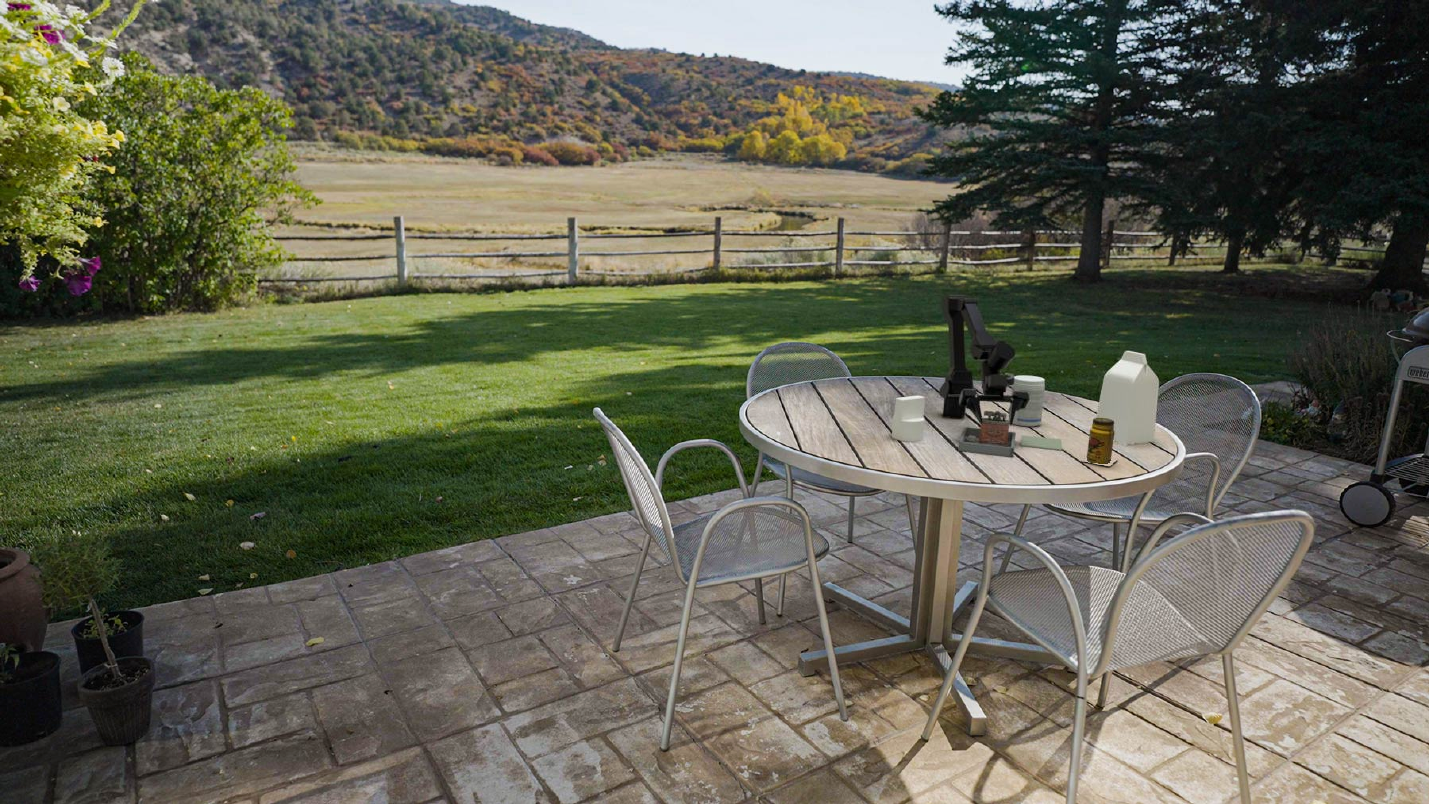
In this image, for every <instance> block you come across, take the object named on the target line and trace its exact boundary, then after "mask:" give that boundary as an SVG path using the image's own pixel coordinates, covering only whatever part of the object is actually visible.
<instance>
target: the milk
mask: <svg viewBox="0 0 1429 804" xmlns="http://www.w3.org/2000/svg"><path fill="white" fill-rule="evenodd" d="M1159 388H1160V380H1159V378H1158V376H1157V375H1156V373H1155V372H1154V371H1153V369H1152V368H1151V367H1150V366H1149V365H1148V361H1147V356H1146V353H1140V352H1135V351H1131V350H1125V351H1124V352H1123V354H1122V356H1121V358H1120V360H1118V362H1116V363H1115V364H1114V365H1113V366H1112V367H1111V368H1110V369H1108V370H1107V372H1106V373H1105V374H1104V377H1103V380H1102V385H1101V389H1100V390H1101V391H1100V395H1099V396H1100V397H1099V402H1098V406H1097V411H1096V417H1095V418H1107V419H1111V420H1113V421H1114V432H1115V433H1114V441H1116V442H1115V443H1117V442H1118V443H1117V444H1120V443H1123V444H1132V443H1139V444H1147V443H1154V442H1155V431H1156V423H1157V421H1156V420H1157V411H1158V410H1157V409H1158V408H1157V407H1158V398H1159ZM1114 441H1113V442H1114ZM1123 444H1122V445H1123ZM1132 445H1133V444H1132Z"/></svg>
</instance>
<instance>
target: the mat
mask: <svg viewBox="0 0 1429 804" xmlns="http://www.w3.org/2000/svg"><path fill="white" fill-rule="evenodd" d="M1062 445H1063V443H1062V439H1060V438H1059V439H1058V438H1053V437H1052V438H1051V437H1044V436H1043V437H1042V436H1034V435H1033V436H1032V435H1023V434H1022V435H1021V440H1020V446H1021V447H1025V448H1035V449H1044V450H1050V451H1051V450H1052V451H1059V452H1060V451H1062V450H1063V446H1062Z"/></svg>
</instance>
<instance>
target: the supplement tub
mask: <svg viewBox="0 0 1429 804" xmlns="http://www.w3.org/2000/svg"><path fill="white" fill-rule="evenodd" d="M1045 381H1046V379H1045V378H1043V377H1041V376H1034V375H1023V374H1022V375H1016V376H1015V375H1014V384H1013V385H1012V386H1011V395H1010V396H1012V395H1013V393H1014V391H1026V392H1028V394H1029V398H1030V399H1029V401H1028V403H1027V405H1026V407H1025V408H1024V409H1020V410H1019V411H1016V412H1015V416H1014V420H1013V423H1012V425H1015V426H1018V427H1019V426H1022V427H1025V428H1026V427H1027V428H1028V427H1037V426H1041V424H1042V419H1043V408H1044V399H1045V390H1046V389H1045V386H1046V385H1045Z"/></svg>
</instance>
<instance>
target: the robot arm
mask: <svg viewBox="0 0 1429 804" xmlns="http://www.w3.org/2000/svg"><path fill="white" fill-rule="evenodd" d="M940 307H941V312H942V316H943V318H944V319H945V321H946V323H947V325H948V346H949V347H948V348H949V350H948V352H949V369H948V371H947V372H946V374H945V379H944V382H943V384H942V385H941V386H940V388H939V391H938V392H939V397H941V398H943V410H942V414H941V417H945V418H953V419H954V418H955V419H963V418H964V417H965V416H966V412H967V411H966V410H970V412H971V413H972V414H973V415H974V417H975V418H976V420H977V421H978V423H979V424H980V425H981V424H982V418H983V415H982V409H981V402H988V403H989V402H990V403H1009V404H1010V405H1009V408H1008V421H1010V425H1009V427H1010V426H1012V425H1013V420H1014V416H1015V412H1016V411H1019V410H1020V409H1024V408H1025V407H1026V405H1027V403H1028V401H1029V399H1030V398H1029V394H1028V392H1026V391H1014V393H1013V395H1012V394H1011V395H1012V396H1011V395H1008V394H1007V395H1005V394H1004V393H1006V392H1007V388H1008V387H1009V386H1011V387H1012V385H1013V384H1014V377H1015V375H1014V373H1006V374H1002V371H1003V370H1005V369H1006V368H1007V366H1008V365H1010V362H1012V361H1013V359H1014V358H1015V356H1016V350H1015V349H1014V348H1013V347H1012V345H1010V344H1008V343H1006V340H998V341H997V340H996V339H995V337H994V336H993V335H991V334H990V333H989V332H988V331H987V328H986V326H985V323H984V321H983V318H982V316H981V313H980V310H979V308H978V301H977V300H976V299H975V298H969V297H967V295H966V294H945V296H944V297H943V298H942V299H941V301H940ZM965 327H966V328H967V331H968V333H969V336H970V339H971V342H970V345H969V350H970V355H971V357H972V359H973V360H974V361H982V362H981V364H980V367H979V368H978V373H980V375H981V389H982V393H977V389H976V388H974V382H973V373H972V371H971V370H969V369H968V368H967V365H966V363H967V362H966V344H965V343H966V342H965V339H966V338H965Z"/></svg>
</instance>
